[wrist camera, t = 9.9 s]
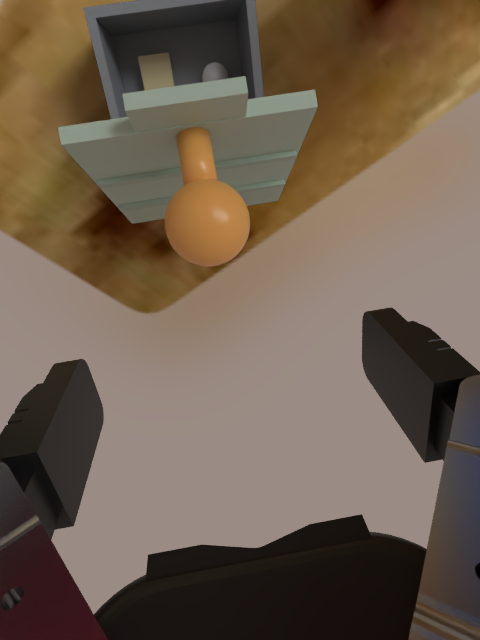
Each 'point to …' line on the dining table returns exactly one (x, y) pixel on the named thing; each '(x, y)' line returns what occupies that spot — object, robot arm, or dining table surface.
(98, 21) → the parts tub
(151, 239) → the dining table surface
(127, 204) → the lid
